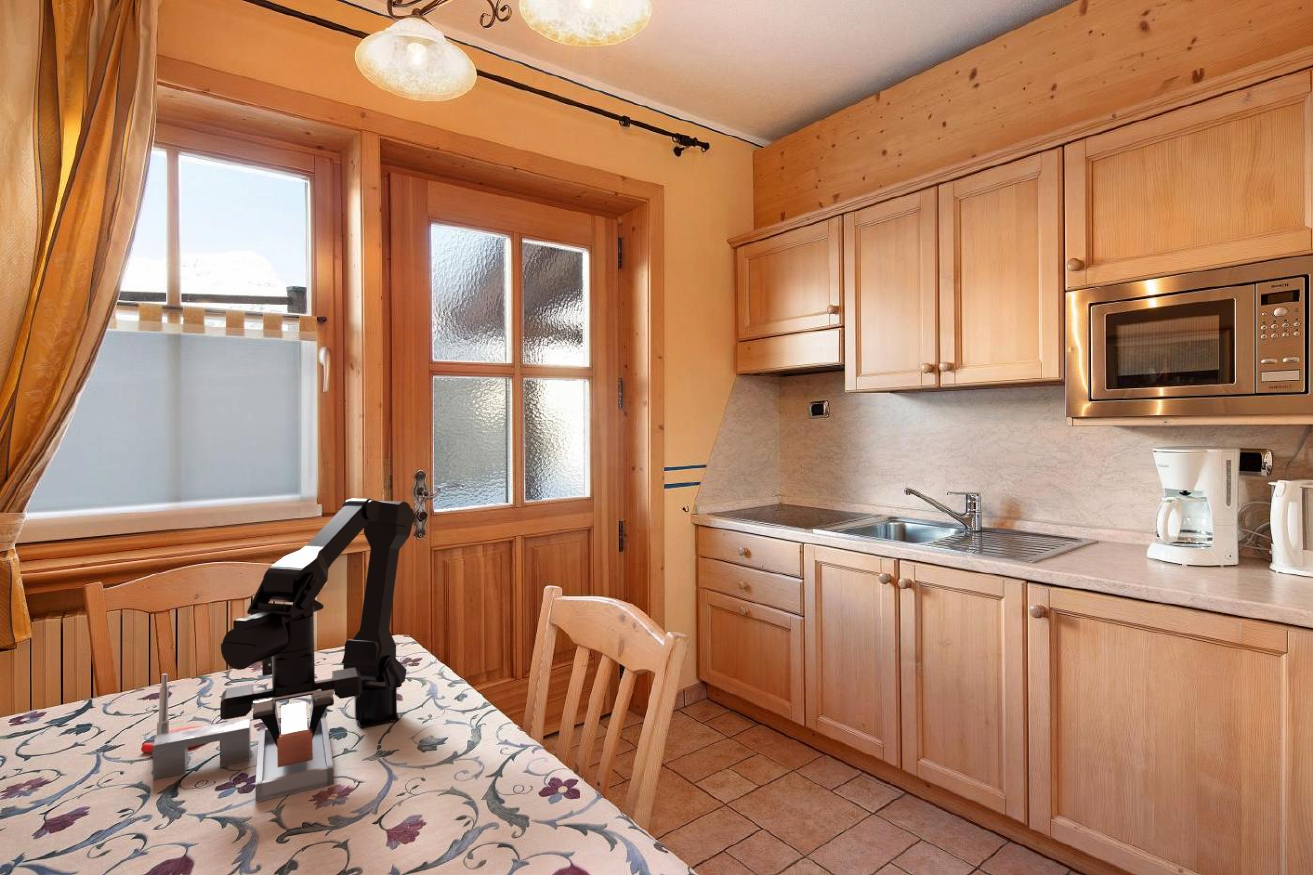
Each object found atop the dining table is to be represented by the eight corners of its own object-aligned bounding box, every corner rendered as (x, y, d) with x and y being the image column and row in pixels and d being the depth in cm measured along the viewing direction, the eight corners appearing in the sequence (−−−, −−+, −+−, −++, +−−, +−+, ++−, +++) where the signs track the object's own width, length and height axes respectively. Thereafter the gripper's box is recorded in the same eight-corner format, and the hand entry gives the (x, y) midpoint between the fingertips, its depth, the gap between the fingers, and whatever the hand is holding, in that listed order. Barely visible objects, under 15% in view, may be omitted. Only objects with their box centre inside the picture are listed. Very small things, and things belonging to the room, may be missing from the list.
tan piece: (278, 727, 113) (277, 702, 113) (309, 721, 115) (308, 696, 115) (277, 767, 100) (277, 739, 100) (312, 759, 102) (312, 732, 102)
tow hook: (183, 731, 120) (135, 754, 111) (185, 657, 120) (137, 674, 111) (225, 734, 119) (180, 758, 109) (227, 660, 119) (183, 677, 110)
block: (250, 749, 112) (250, 717, 112) (249, 759, 109) (249, 727, 108) (157, 767, 106) (156, 734, 106) (153, 779, 103) (152, 745, 102)
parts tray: (326, 730, 119) (325, 716, 119) (333, 783, 101) (333, 767, 101) (259, 743, 114) (259, 728, 114) (255, 802, 96) (255, 784, 96)
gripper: (355, 623, 115) (356, 714, 116) (224, 640, 106) (226, 739, 107) (361, 642, 106) (363, 741, 106) (219, 663, 97) (221, 771, 97)
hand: (294, 747), depth 104 cm, fingers closed on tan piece, 3 cm apart
